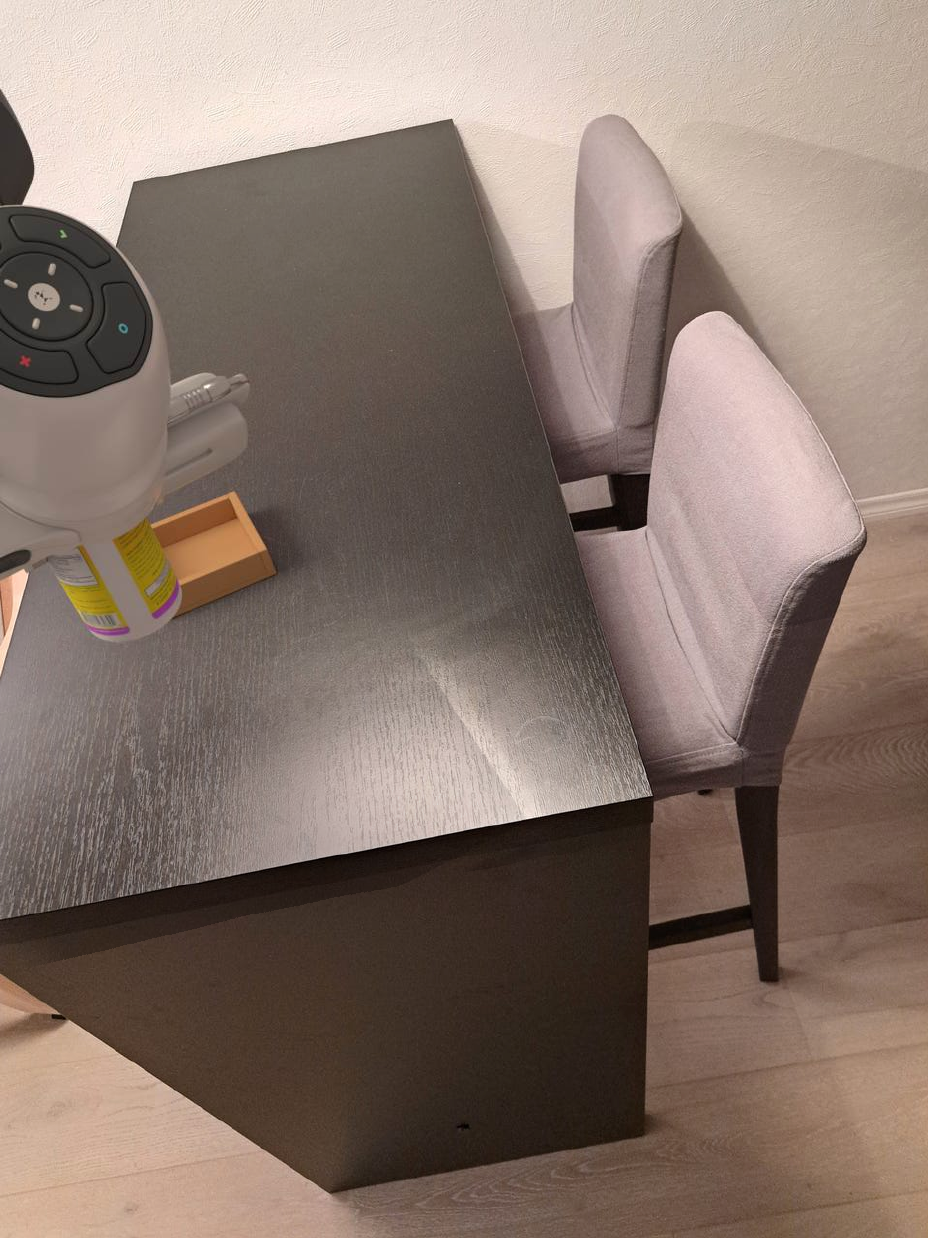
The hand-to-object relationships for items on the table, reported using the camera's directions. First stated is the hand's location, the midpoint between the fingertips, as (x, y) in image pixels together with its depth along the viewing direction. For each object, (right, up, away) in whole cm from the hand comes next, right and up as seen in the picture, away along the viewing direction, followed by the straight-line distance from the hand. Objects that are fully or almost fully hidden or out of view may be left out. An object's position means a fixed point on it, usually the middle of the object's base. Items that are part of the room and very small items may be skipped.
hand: (88, 526), depth 60 cm
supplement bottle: (+2, -6, +5) cm, 7 cm away
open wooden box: (-1, -1, +29) cm, 29 cm away
